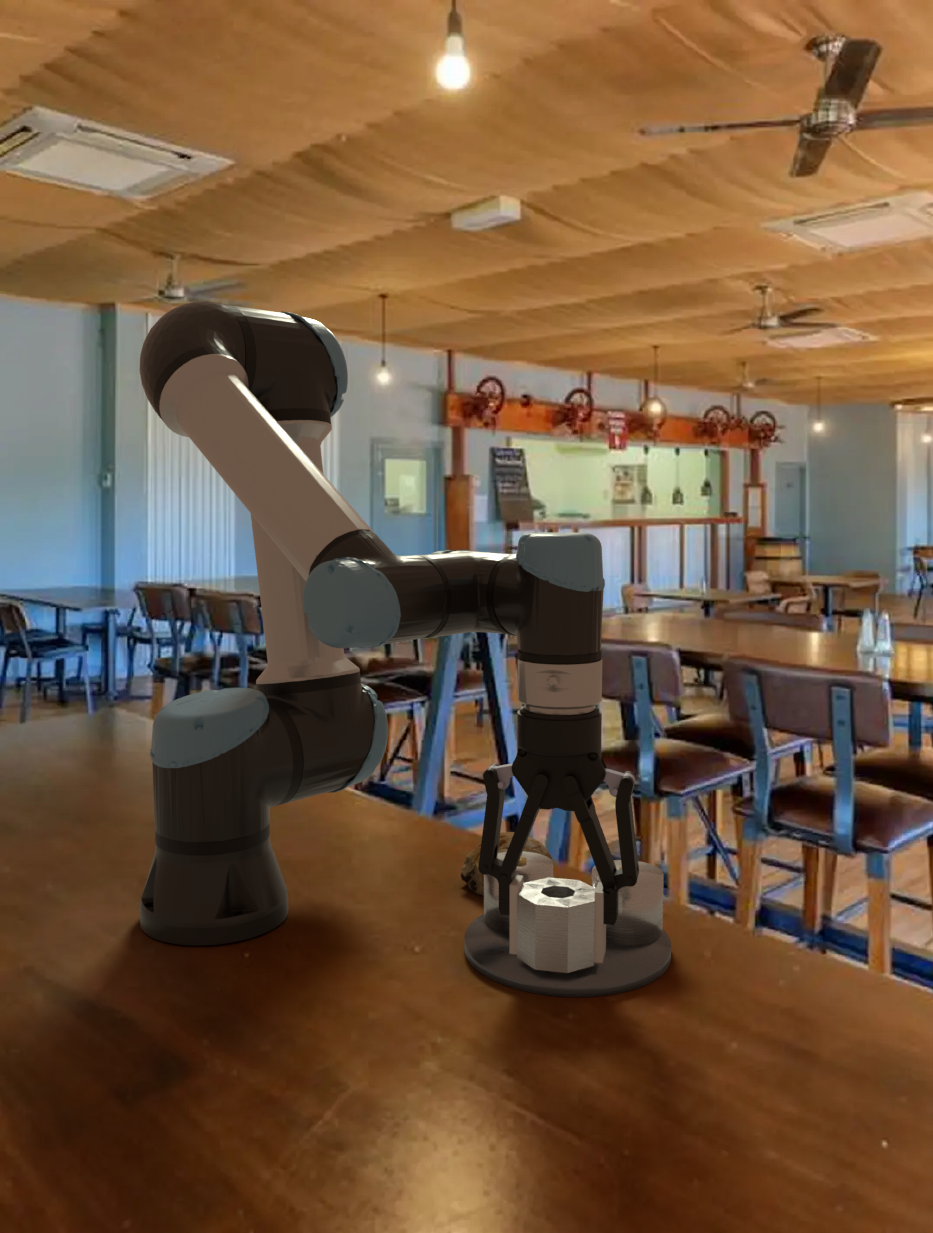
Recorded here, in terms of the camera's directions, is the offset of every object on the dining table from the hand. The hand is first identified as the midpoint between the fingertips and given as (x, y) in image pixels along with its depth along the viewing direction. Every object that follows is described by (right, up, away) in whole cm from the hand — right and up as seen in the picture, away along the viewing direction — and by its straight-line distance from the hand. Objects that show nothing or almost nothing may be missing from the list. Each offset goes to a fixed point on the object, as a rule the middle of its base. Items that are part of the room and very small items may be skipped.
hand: (557, 951), depth 99 cm
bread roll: (-4, 0, +24) cm, 24 cm away
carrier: (+1, -2, +6) cm, 7 cm away
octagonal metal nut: (0, 0, 0) cm, 0 cm away
